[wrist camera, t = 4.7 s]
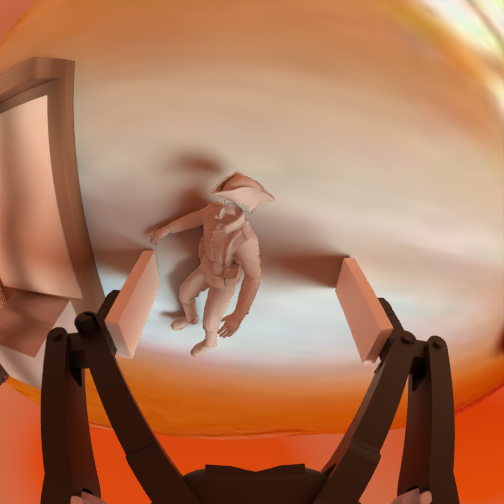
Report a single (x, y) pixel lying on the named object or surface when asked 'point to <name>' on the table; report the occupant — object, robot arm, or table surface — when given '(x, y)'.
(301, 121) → the table surface
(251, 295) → the soldier figure
